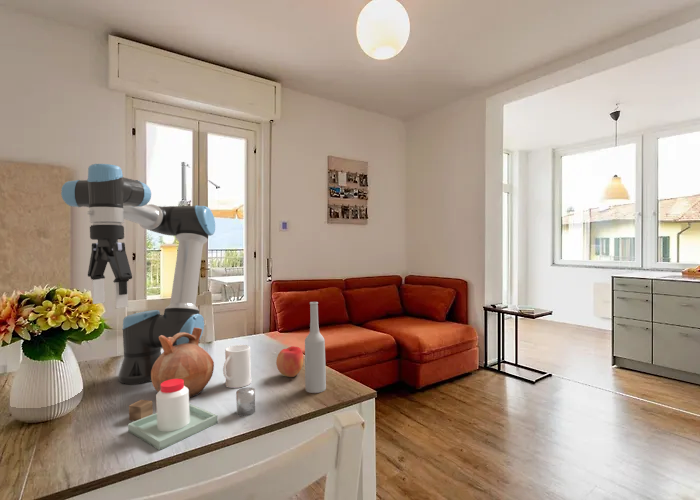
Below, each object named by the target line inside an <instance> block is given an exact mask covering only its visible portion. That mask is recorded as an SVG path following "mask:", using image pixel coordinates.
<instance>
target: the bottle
mask: <svg viewBox="0 0 700 500" xmlns="http://www.w3.org/2000/svg"><path fill="white" fill-rule="evenodd" d="M318 304H319V302H318V301H310V302H309V305H310V306H309V307H310V308H309V309H310V310H309V311H310V313H309V314H310V320H309V321H310V323H309V327H310V328H309V333H308V335H307V336H306V337H305V339H304V372H305V374H304V375H305V376H304V384H305V387H304V388H305V391H306V392H307V393H310V394H311V393H312V394H318V393H323V392H324V391H326V390H327V384H326V383H327V382H326V381H327V376H326V375H327V373H326V372H327V371H326V370H327V369H326V342H325V341H326V340H325V338H324V336H323V335H322V334H321V332H320V328H319V305H318Z"/></svg>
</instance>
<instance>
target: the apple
mask: <svg viewBox="0 0 700 500" xmlns="http://www.w3.org/2000/svg"><path fill="white" fill-rule="evenodd" d="M304 361H305V358H304V353H303V351H302V349H301V347H298V346H289V347H287V348H282V349H281V350H280V351H279V352H278V354H277V356H276V362H275V363H276V368H277V370H278V372H279V373H280V374H281V375H283V376H284V377H287V378H294V377H296V376H297V375H298V374H299V373H300V372H301V370H302V368H303V365H304Z"/></svg>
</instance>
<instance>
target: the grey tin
mask: <svg viewBox="0 0 700 500" xmlns="http://www.w3.org/2000/svg"><path fill="white" fill-rule="evenodd" d="M235 395H236V397H235V398H236V415H237V416H239V417H249V416H251V415H253V414H255V413H256V390H255V388H253V387H250V386H249V387H248V386H246V387H240V389H239V388H238V389H237V390H236V394H235Z"/></svg>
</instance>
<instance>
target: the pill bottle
mask: <svg viewBox="0 0 700 500" xmlns="http://www.w3.org/2000/svg"><path fill="white" fill-rule="evenodd" d="M160 388H161V390H160V391H159V392H157V393H156V394H155V409H156V410H155V413H157V429H158V430H159V431H162V432H171V431H175V430H179V429H181V428H183V427H185V426H187V425H188V424H189V422H190V409H189V404H190V397H189V389H188V388H187V387H185V386H184V380H183V379H170V380H167V381H164V382H162V383H161V384H160Z"/></svg>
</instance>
